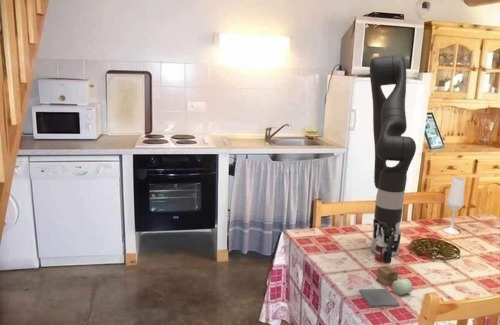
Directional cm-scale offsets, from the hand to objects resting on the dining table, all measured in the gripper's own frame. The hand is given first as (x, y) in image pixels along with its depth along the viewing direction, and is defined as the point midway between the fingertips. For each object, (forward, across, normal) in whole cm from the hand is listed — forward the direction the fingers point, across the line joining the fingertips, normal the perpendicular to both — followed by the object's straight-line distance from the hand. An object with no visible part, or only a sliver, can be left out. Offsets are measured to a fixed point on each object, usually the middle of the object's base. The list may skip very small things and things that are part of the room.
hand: (382, 258), depth 126 cm
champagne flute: (+13, +53, -56) cm, 78 cm away
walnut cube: (+13, +10, -7) cm, 18 cm away
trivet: (+13, 0, 0) cm, 13 cm away
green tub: (+11, +2, -7) cm, 13 cm away
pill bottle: (+2, 0, 0) cm, 2 cm away
